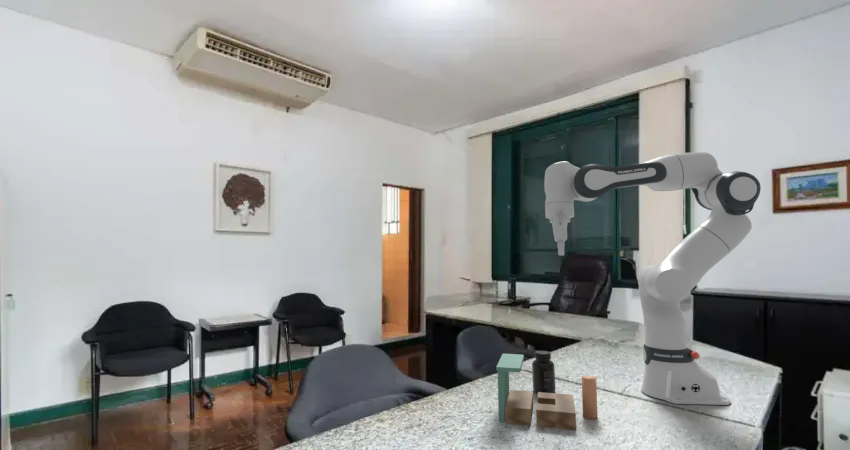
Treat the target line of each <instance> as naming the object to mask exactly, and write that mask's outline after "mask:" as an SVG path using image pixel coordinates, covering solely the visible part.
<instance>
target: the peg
mask: <svg viewBox="0 0 850 450" xmlns="http://www.w3.org/2000/svg"><path fill="white" fill-rule="evenodd" d="M597 388H598V387H597V378H596V376H592V375H582V376H581V394H582V395H581V398H582V402H581V403H582V417H583V418H585V419H588V420H597V419H598V394H597V390H598V389H597Z"/></svg>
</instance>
